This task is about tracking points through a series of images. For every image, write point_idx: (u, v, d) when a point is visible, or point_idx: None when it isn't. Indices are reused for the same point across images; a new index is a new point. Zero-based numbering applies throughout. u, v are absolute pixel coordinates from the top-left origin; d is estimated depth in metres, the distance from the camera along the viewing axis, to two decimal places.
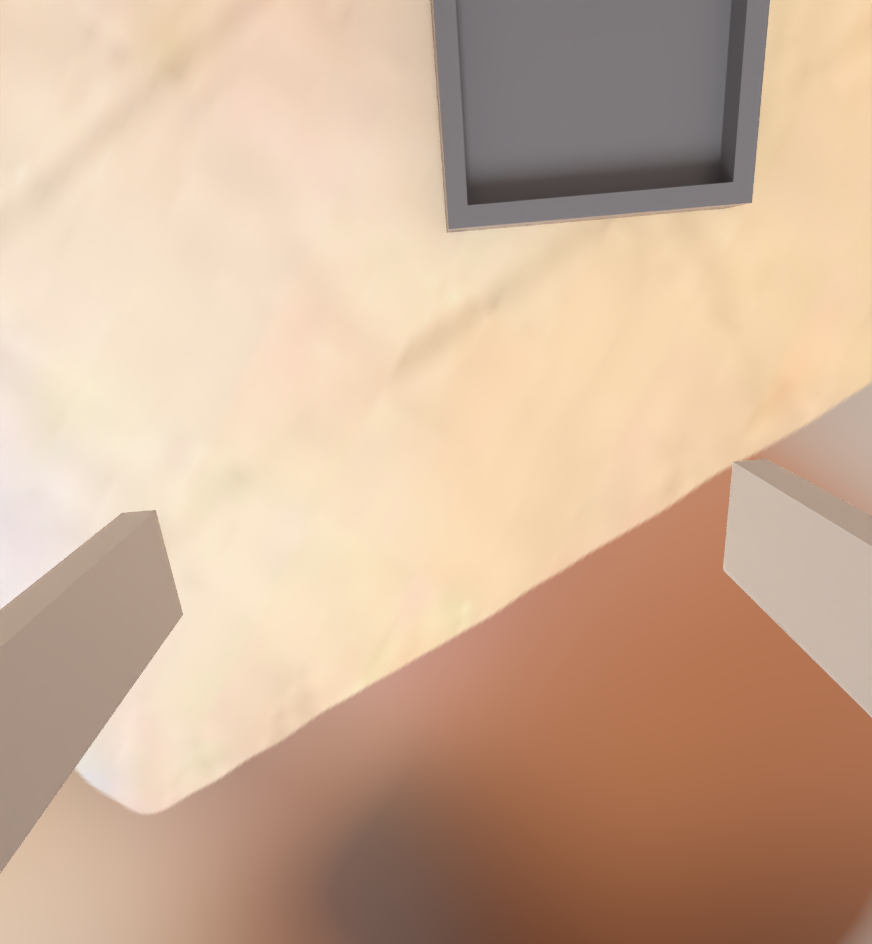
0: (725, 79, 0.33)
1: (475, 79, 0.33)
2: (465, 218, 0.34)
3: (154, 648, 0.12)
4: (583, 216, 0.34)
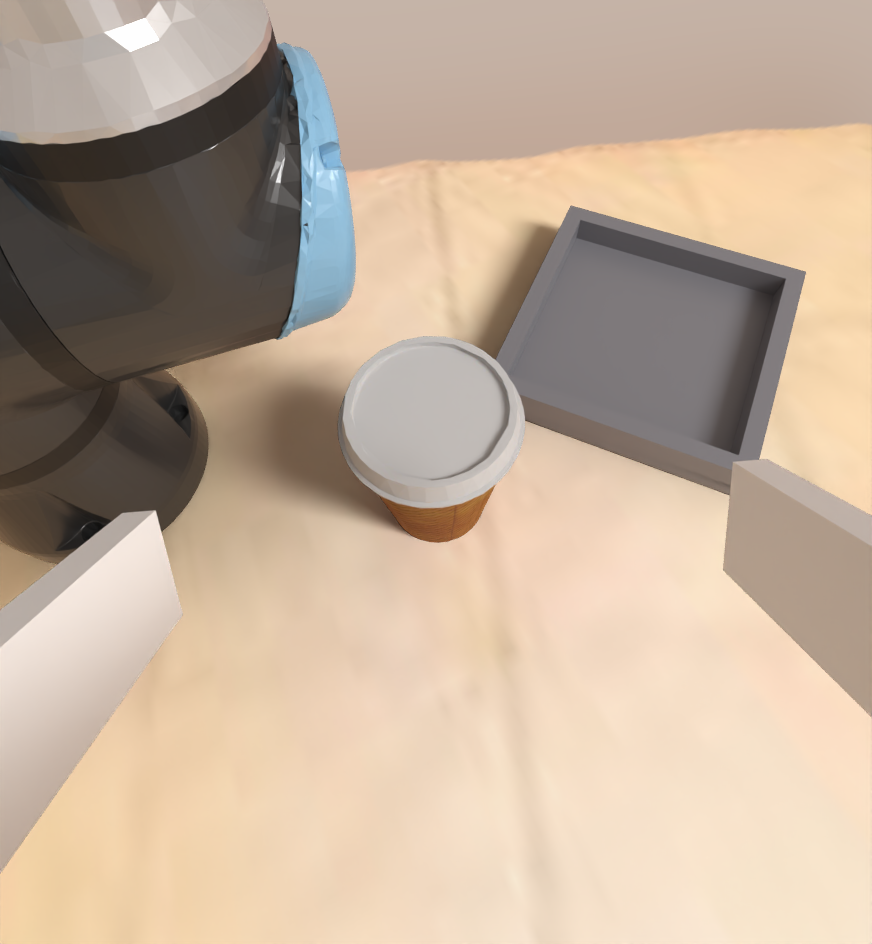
0: (699, 273, 0.45)
1: None
2: None
3: (154, 648, 0.12)
4: (778, 377, 0.39)
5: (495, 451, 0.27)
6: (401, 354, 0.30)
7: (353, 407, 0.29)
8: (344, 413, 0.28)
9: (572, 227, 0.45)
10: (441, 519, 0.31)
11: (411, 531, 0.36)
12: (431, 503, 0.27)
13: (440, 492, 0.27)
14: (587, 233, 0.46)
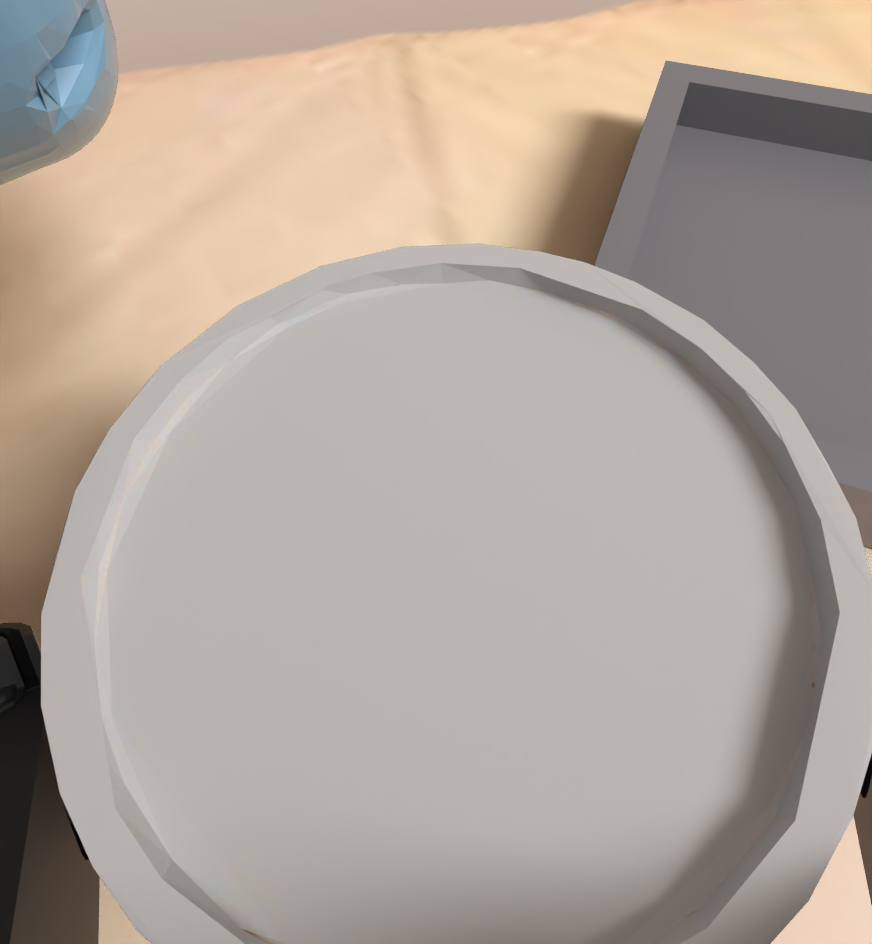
0: None
1: None
2: None
3: None
4: None
5: (821, 776, 0.05)
6: (322, 318, 0.08)
7: (113, 547, 0.07)
8: (52, 588, 0.06)
9: (677, 94, 0.23)
10: None
11: None
12: None
13: None
14: (699, 111, 0.25)
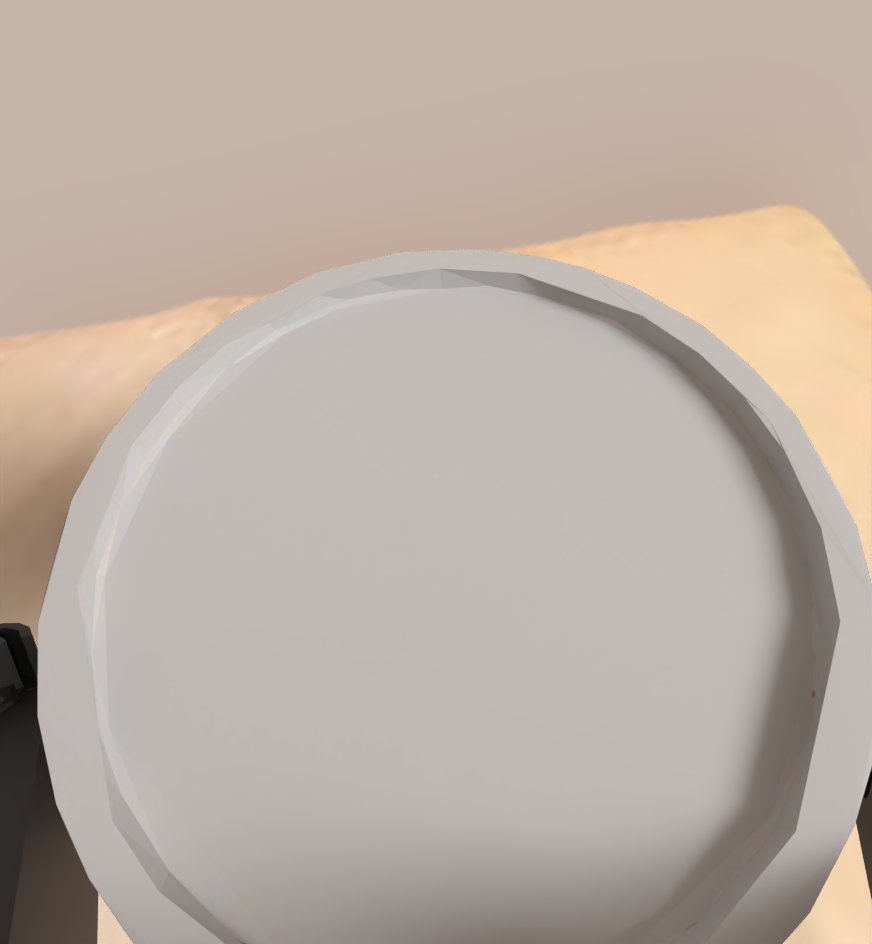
0: None
1: None
2: None
3: None
4: None
5: (819, 787, 0.05)
6: (320, 324, 0.08)
7: (110, 555, 0.07)
8: (49, 597, 0.06)
9: None
10: None
11: None
12: None
13: None
14: None
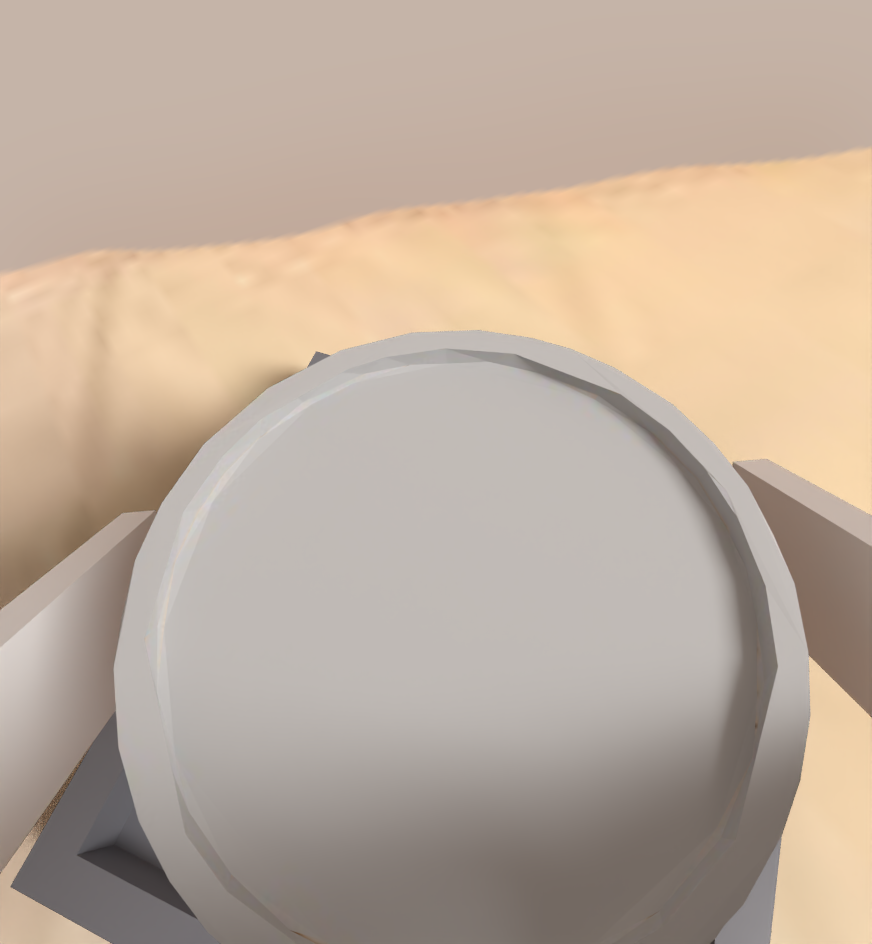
0: None
1: None
2: None
3: None
4: None
5: (756, 803, 0.06)
6: (341, 396, 0.09)
7: (168, 606, 0.08)
8: (122, 645, 0.07)
9: None
10: None
11: None
12: None
13: None
14: None
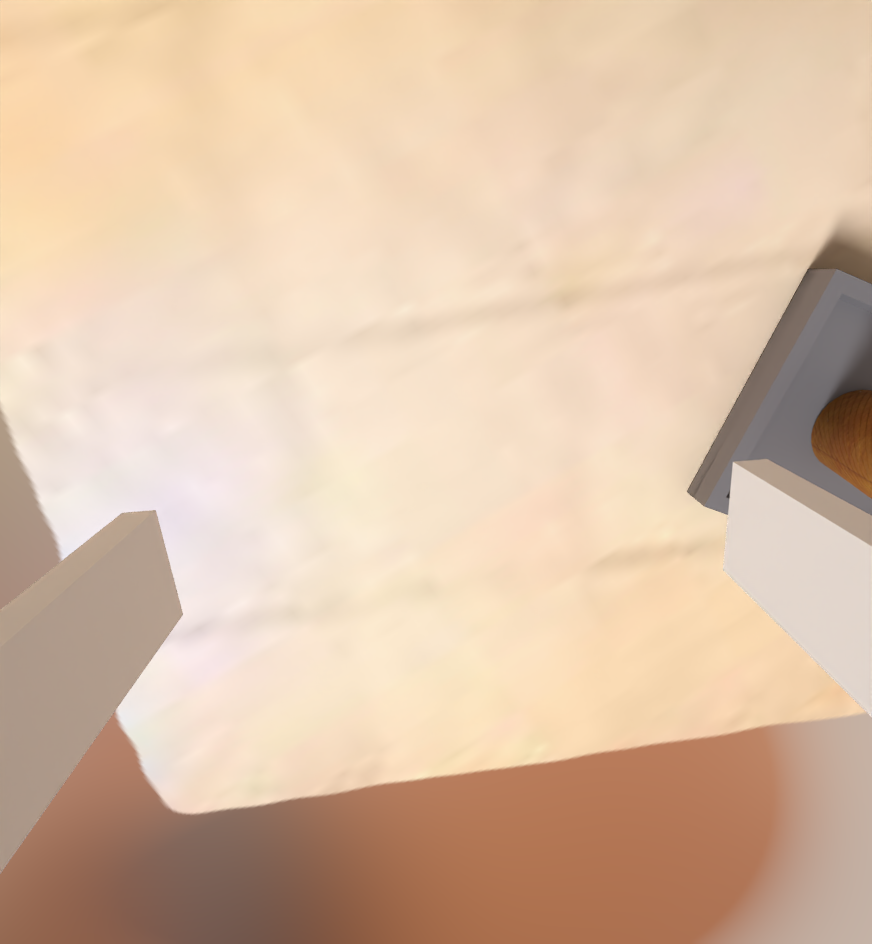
0: None
1: None
2: (719, 504, 0.43)
3: (154, 648, 0.12)
4: None
5: None
6: None
7: None
8: None
9: None
10: (862, 467, 0.37)
11: (831, 417, 0.41)
12: None
13: None
14: None
